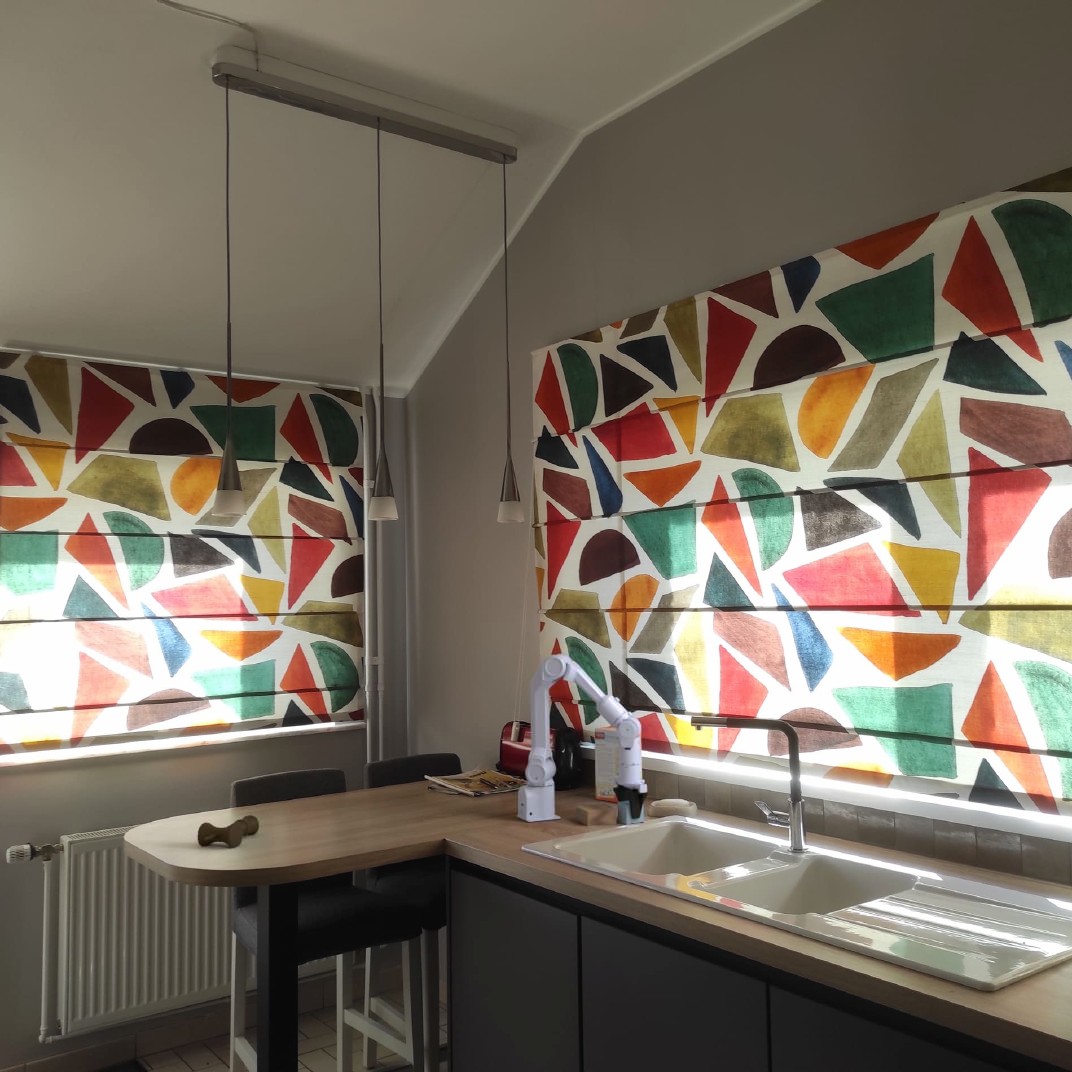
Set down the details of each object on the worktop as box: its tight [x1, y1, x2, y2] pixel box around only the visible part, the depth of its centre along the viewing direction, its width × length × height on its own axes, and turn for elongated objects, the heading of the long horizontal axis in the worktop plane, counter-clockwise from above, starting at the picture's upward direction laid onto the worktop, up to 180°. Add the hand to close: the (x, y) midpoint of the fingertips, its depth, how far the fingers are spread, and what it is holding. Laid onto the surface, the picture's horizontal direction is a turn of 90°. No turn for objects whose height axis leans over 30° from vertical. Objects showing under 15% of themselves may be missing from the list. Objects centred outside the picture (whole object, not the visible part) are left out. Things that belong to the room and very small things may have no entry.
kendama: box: [196, 814, 260, 849], centre depth 240 cm, size 6×10×20 cm
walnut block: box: [576, 803, 618, 827], centre depth 259 cm, size 8×8×4 cm
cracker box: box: [594, 726, 643, 803], centre depth 288 cm, size 14×6×21 cm, turn 41°
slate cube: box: [617, 801, 645, 825], centre depth 259 cm, size 5×5×5 cm
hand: (630, 816), depth 259 cm, fingers closed on slate cube, 5 cm apart
